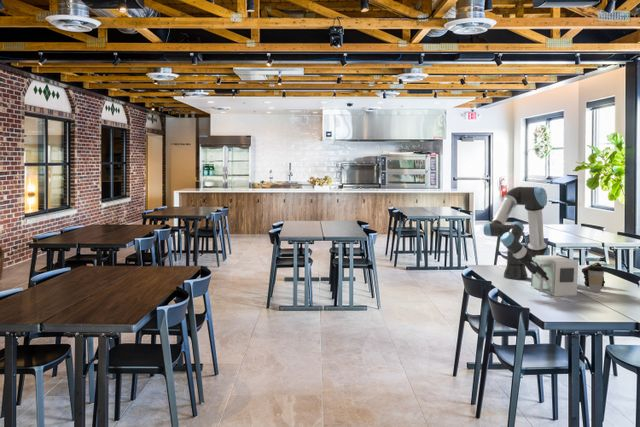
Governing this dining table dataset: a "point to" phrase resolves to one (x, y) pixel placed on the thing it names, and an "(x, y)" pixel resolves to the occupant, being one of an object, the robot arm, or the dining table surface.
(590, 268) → the coffee cup
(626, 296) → the dining table surface
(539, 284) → the side door
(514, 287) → the dining table surface
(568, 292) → the machine housing
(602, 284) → the dark bumpy flat shape
